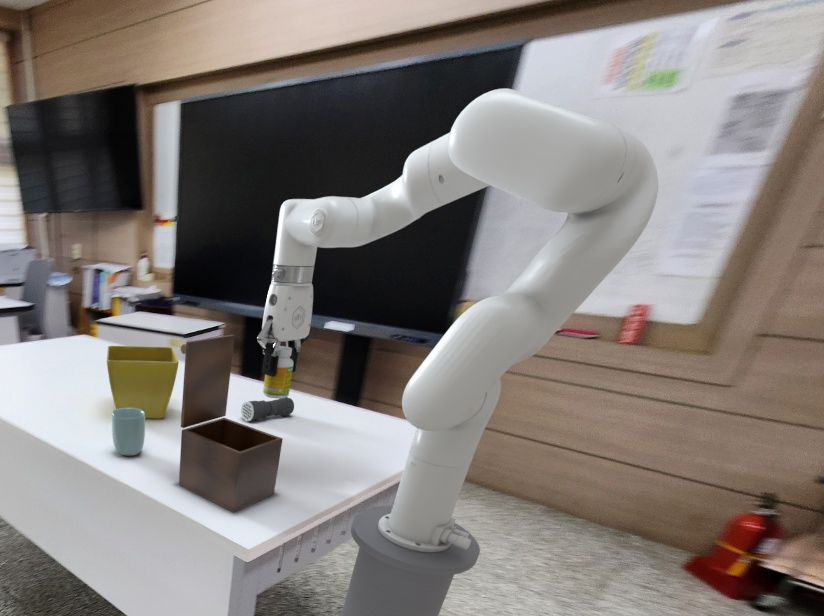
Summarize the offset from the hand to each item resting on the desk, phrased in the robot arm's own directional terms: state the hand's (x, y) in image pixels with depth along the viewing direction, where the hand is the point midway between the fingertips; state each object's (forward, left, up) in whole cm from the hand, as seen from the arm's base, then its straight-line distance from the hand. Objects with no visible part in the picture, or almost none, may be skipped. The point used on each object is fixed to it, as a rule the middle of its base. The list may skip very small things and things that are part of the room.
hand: (278, 372), depth 107 cm
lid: (+6, +14, -1) cm, 16 cm away
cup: (+27, +18, -22) cm, 39 cm away
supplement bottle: (0, 0, -5) cm, 5 cm away
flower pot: (+49, -4, -22) cm, 54 cm away
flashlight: (+23, -30, -22) cm, 44 cm away
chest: (-1, +14, -22) cm, 27 cm away
